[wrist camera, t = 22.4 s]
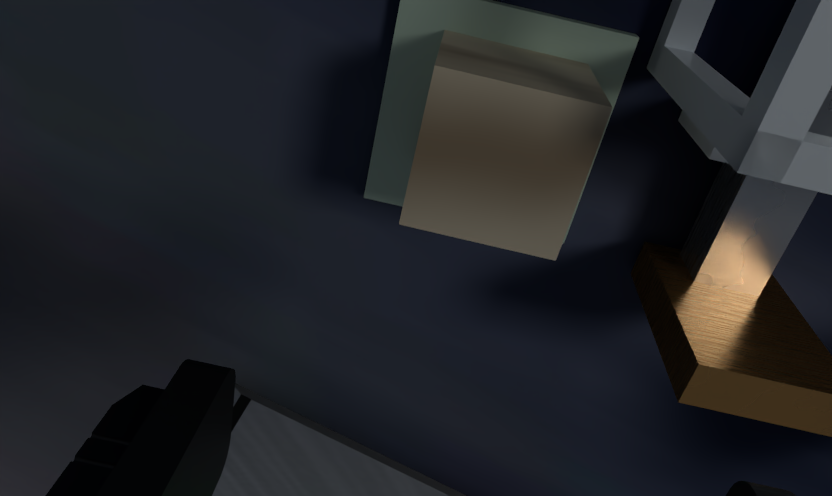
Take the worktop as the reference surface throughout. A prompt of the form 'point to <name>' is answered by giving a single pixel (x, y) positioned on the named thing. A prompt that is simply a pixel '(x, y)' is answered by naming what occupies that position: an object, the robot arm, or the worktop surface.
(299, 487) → the security device
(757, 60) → the worktop surface
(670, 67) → the gray angular frame
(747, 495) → the robot arm
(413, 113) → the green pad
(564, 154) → the beech block
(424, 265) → the worktop surface
